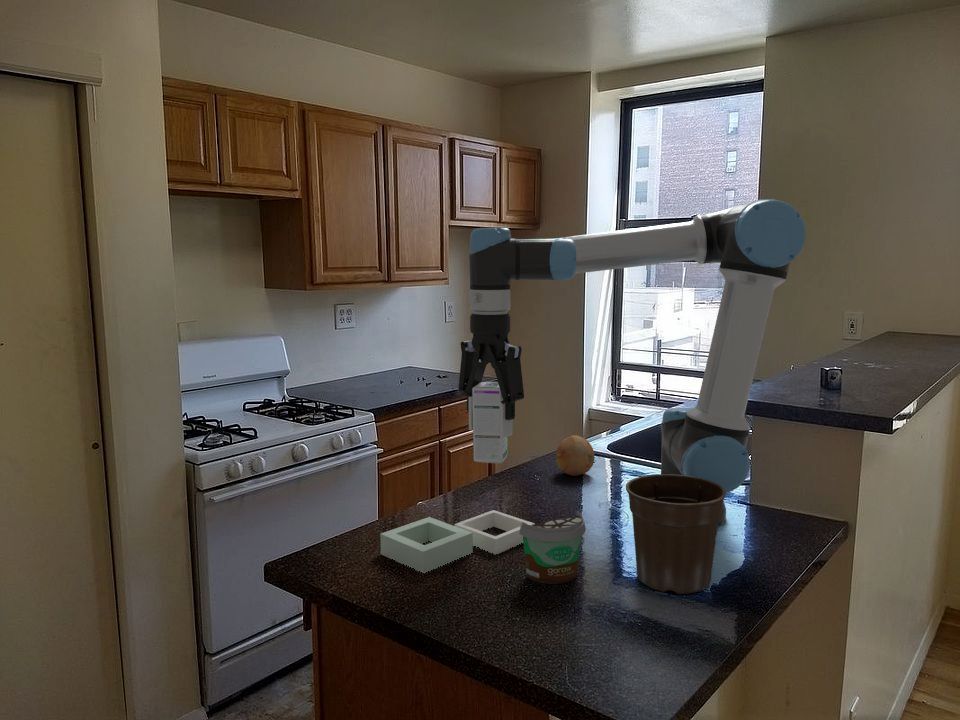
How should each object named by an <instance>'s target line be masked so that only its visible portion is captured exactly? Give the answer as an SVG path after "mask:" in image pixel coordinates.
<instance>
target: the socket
mask: <svg viewBox="0 0 960 720" xmlns="http://www.w3.org/2000/svg"><path fill="white" fill-rule="evenodd" d="M379 535H380V536H379V537H380V555H382V556H384V557H386V558H388V559H390V560H392V559H393V561H394V560H395V562H397V563H399V564H401V565H403V564H404V565H403V566H406V565H407V566H406V567H408V566H409V567H408V568H410V567H411V569H412V568H414V569H415V570H414V569H413V570H414V571H416V572H419V571H420V572H419V573H421V572H422V574H423V573H424V574H426V572H427V573H429V572H432V571H433V569H434V570H437V569H439V568H441V567H443V565H444V566H446V565H448V564H451V563H453V562H455V561H454V560H456V561H458V560H460V559H459V558H461V557H463V558H465V557H467V556H466V555H468V556H470V555H472V554H471V553H474V552H473V550H474V546H473V533H472V532H469V531H466V530H463V529H461V528H458V527H455V526H454V525H452V524H450V523H447V522H444V521H442V520H439V519H436V518H435V517H434V518H433V517H432V516H427V517H426V518H422V519H419V520H416V521H413V522H410V523H408V524H405V525H402V526H399V527H396V528H393V529H389V530H388V531H384V532H381V533H380V534H379ZM428 541H430V542H432V543H430V542H428ZM426 542H427V543H426ZM423 543H425V544H423ZM469 554H470V555H469ZM464 556H465V557H464ZM457 559H458V560H457ZM461 559H462V558H461ZM452 561H453V562H452ZM450 562H451V563H450ZM447 563H448V564H447ZM445 564H446V565H445ZM440 566H441V567H440ZM438 567H439V568H438ZM431 570H432V571H431ZM428 571H429V572H428Z"/></svg>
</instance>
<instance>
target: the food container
mask: <svg viewBox="0 0 960 720" xmlns="http://www.w3.org/2000/svg"><path fill="white" fill-rule="evenodd" d="M575 513H576V514H575V516H571V517H565V518H551V519H548V520H545V521H542V522H539V523H536V524H535V525H528V524H526V523H524V522H522V526H521V527H520V533H519V534H520V535H522V536H523V542H524V543H523V551H524V560H525V561H524V562H525V563H524V564H525V574H526V577H527V578H528V579H529V580H531V581H534V582H537V583H542V584H549V585H551V584H552V585H554V584H557V585H558V584H563V583H568V582H570V581H572V580H574V579H576V578H577V576H578V569H579V559H580V553H581V543H582V536H583V535H584V534H585V533H586V532H587V531H586V530H587V529H586V521H585V519H584V517H583V516H584V515H583V514H582V513H581V512H580V511H578V510H577V511H576V512H575Z"/></svg>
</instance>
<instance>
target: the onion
mask: <svg viewBox="0 0 960 720" xmlns="http://www.w3.org/2000/svg"><path fill="white" fill-rule="evenodd" d="M555 461H556V464H557V467H558V468H559V469H560V471H562V472H563V473H565V474H566V475H569V476H573V477H577V476H580V475H581V476H582V475H584V474H586V473H588V472H589V471H590V470H591V469H592V467H593V466H594V463H595V452H594V448H593V446H592V444H591V443H590V442H589V440H587V439H586V438H585V437H582V436H580V435H577V434H576V435H575V434H574V435H570V436H568V437H566V438H565V439H562V440H561V441H560V443H559V444H558V446H557V448H556V449H555Z"/></svg>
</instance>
